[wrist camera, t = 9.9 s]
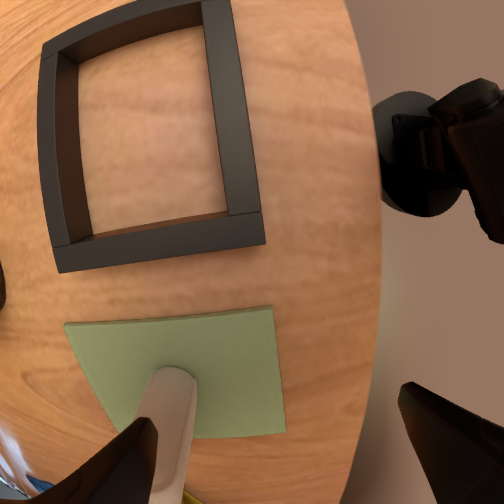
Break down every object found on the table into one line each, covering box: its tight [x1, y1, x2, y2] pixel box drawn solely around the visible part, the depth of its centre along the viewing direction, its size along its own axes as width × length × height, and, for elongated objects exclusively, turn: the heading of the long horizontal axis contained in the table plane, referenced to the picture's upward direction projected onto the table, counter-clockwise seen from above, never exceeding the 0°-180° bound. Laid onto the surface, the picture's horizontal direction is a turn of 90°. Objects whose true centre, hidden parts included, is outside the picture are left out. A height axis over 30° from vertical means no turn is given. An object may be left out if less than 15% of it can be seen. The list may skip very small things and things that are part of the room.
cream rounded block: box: [132, 367, 197, 504], centre depth 16 cm, size 10×4×12 cm, turn 168°
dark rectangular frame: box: [37, 0, 266, 274], centre depth 15 cm, size 14×18×3 cm
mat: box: [63, 306, 286, 439], centre depth 21 cm, size 18×14×1 cm
